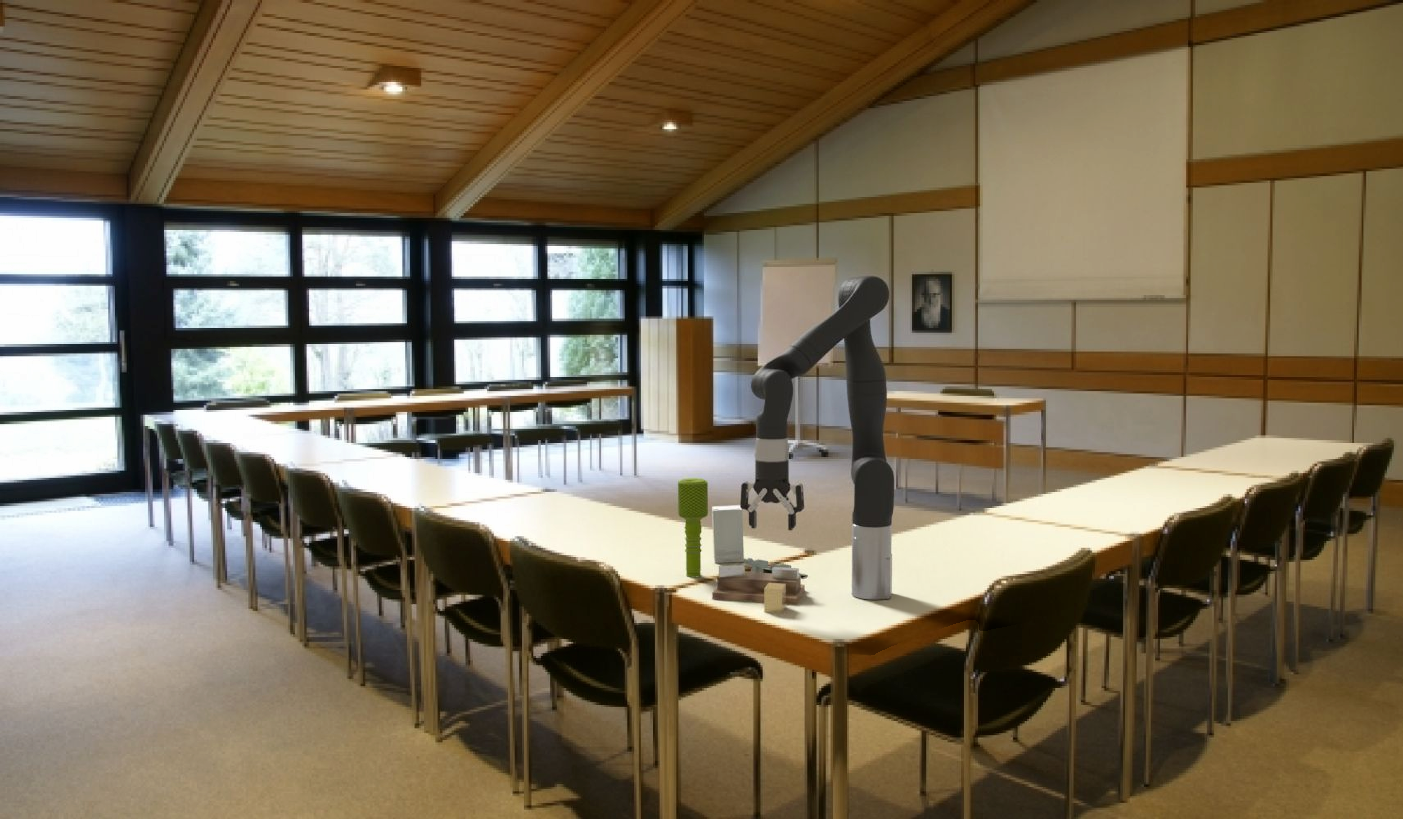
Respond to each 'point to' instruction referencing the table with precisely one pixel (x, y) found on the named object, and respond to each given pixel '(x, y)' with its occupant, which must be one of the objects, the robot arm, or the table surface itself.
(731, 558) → the skincare box
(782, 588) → the natural wood cube
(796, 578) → the grey bar
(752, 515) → the robot arm
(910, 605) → the table surface
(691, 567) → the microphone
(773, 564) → the metal bracket
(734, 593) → the base
